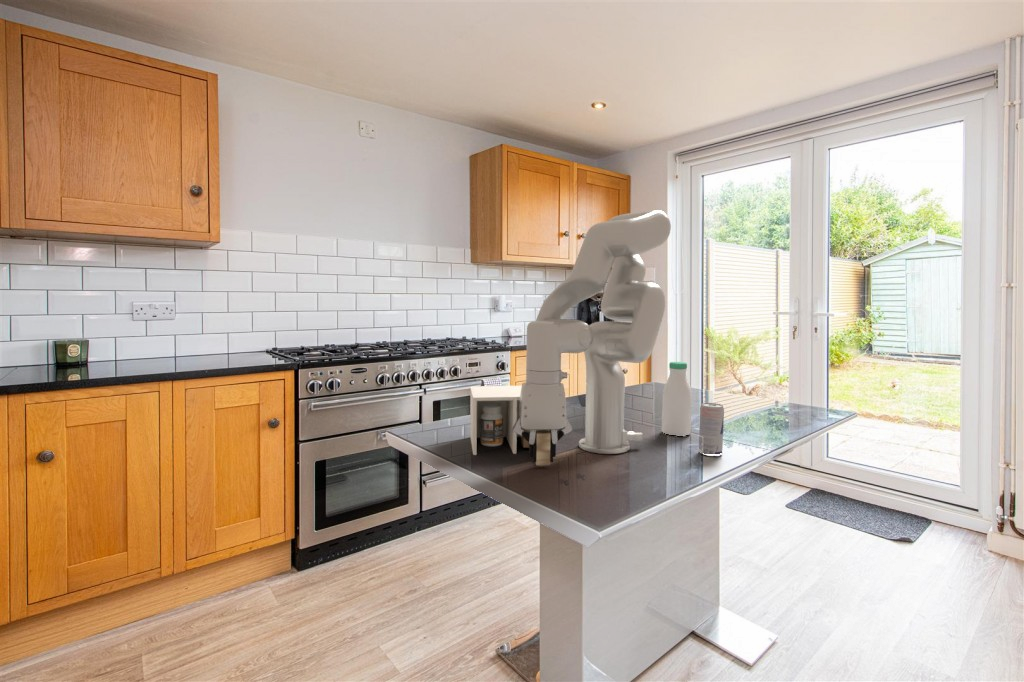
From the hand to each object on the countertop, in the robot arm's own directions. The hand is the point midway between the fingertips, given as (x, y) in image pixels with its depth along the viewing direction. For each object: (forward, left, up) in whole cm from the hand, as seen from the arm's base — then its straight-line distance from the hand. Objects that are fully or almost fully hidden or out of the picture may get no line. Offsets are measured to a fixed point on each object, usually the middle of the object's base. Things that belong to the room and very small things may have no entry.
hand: (542, 459), depth 113 cm
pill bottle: (+9, -20, -2) cm, 22 cm away
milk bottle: (-42, -25, -2) cm, 49 cm away
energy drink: (-42, -6, -2) cm, 43 cm away
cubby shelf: (+5, -19, -2) cm, 20 cm away
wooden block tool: (0, -8, -1) cm, 8 cm away
